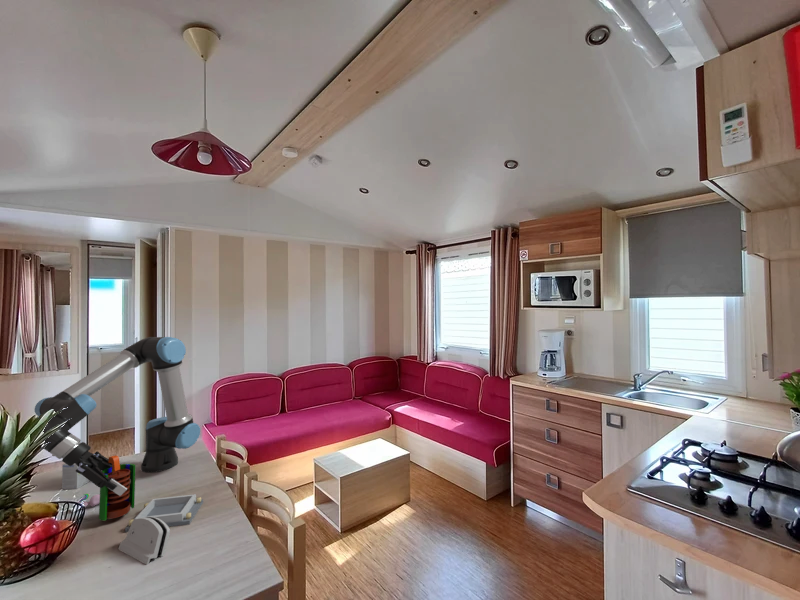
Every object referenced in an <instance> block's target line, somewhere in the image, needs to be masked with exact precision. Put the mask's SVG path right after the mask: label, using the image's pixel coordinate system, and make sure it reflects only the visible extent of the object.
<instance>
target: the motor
mask: <svg viewBox="0 0 800 600" xmlns="http://www.w3.org/2000/svg"><path fill="white" fill-rule="evenodd" d="M108 459H109V463H112V467H111V468H107V469H105V470H103V471H102V470H101V471H102V472H103V473H104V474H105V476H106V477H108V478H109V479H110V480H111V479H114V480H115V481H117V482H118V483H120V484H121V485H123V486H124V487H126V488H127V490H126V491H125V492H124V493H123V494H122V495H121V496H119V495H118V494H116V493H115V492H113V491H112V490H110V489H109V488H107V487H106V486H104V487H103V488H100V487H99V494H100V502H99V504H98V505H99V507H98V519H99V520H100V521H103V522H104V521H107V519H108V520H109V519H116V518H119V517H122V516H124V515H126V514H128V513H129V512H131V509H135V495H136V493H135V492H136V469H137V468H136V467H137V466H136V464H135V463H123V464H120V463H121V462H120V456H119V455H112V456H109V457H108ZM129 478H130V479H131V483H130V479H129ZM129 483H130V484H129Z"/></svg>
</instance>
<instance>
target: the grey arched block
mask: <svg viewBox="0 0 800 600" xmlns="http://www.w3.org/2000/svg"><path fill="white" fill-rule="evenodd" d="M170 533H171V529H170V527H168V526H167V524H166V523H165V522H164V521H162V520H161V519H159V518H155V517H142V518H138V519H135V520H133V522H132V524H131V526H130V529H129V531H128V532H126V537H125V538H124V539H123V540H122V541H121V542H120V543H119V545H118V550H119V551H121V552H122V553H123V554H124V553H125V554H126V555H127V556H130V557H131V558H134V560H137V561H138V562H141V563H143V564H144V565H146V566H147V565H150V561H151V559H155V558H156V559H157V558H158V556H159V557H164V556H165V554H166V549H167V546H168V542H169V537H170Z"/></svg>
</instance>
